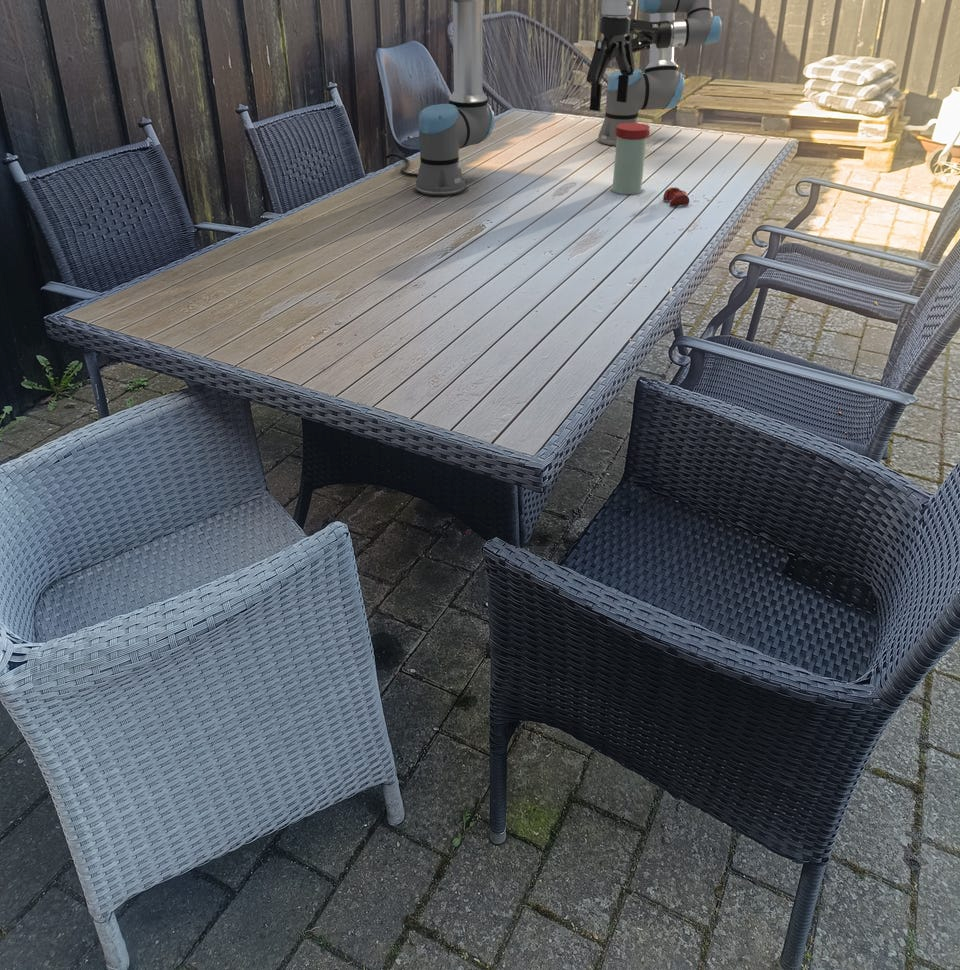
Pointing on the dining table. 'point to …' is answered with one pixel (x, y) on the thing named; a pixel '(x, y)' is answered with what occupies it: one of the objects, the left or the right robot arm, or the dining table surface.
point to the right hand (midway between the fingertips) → (601, 40)
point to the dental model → (676, 197)
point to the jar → (629, 165)
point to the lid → (632, 131)
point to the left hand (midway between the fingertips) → (608, 106)
